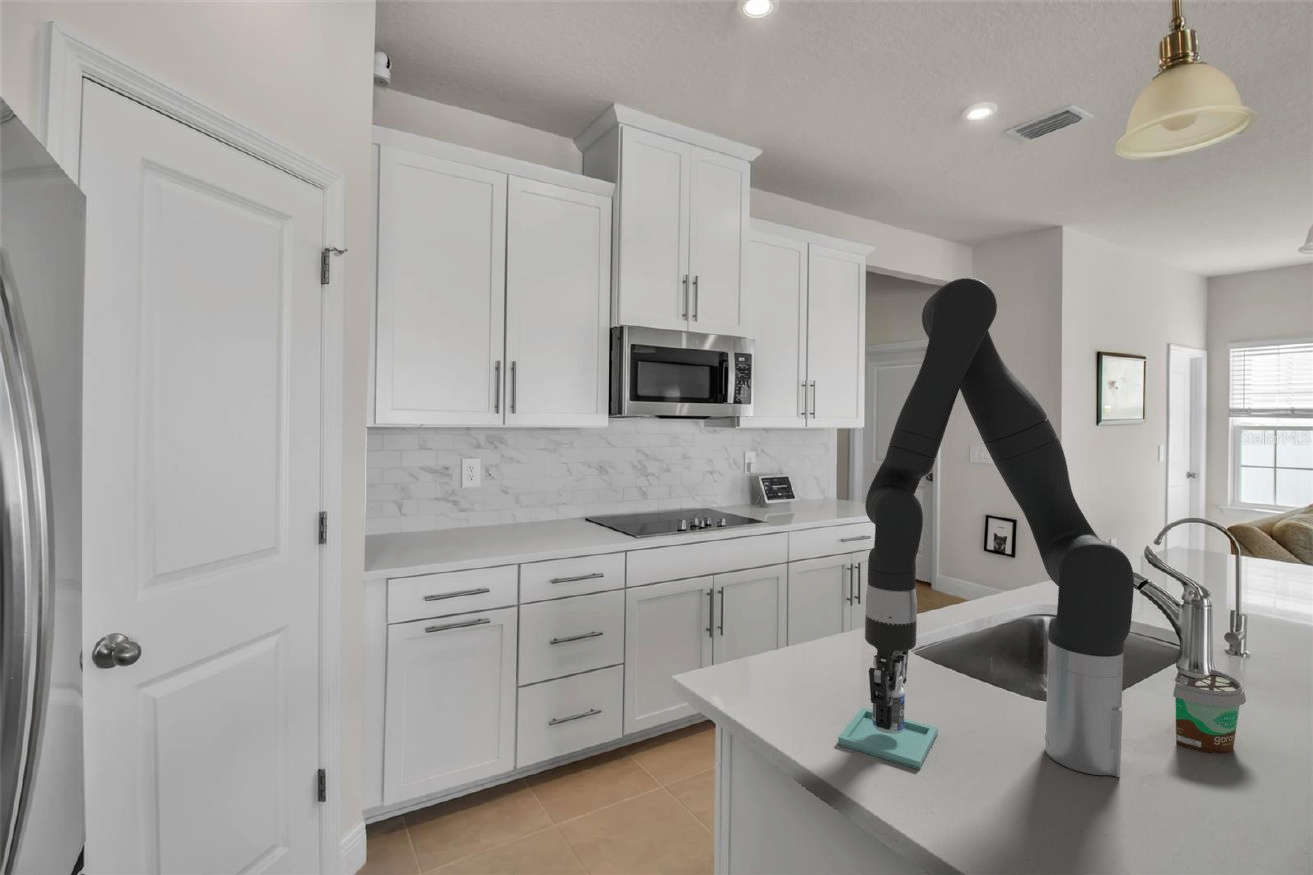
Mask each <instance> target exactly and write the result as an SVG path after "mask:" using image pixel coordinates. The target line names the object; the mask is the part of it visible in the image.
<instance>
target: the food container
mask: <svg viewBox="0 0 1313 875" xmlns="http://www.w3.org/2000/svg"><path fill="white" fill-rule="evenodd" d="M1209 671H1210V673H1209V674H1208V675H1206V676H1205V677H1201V678H1200V677H1198V678H1194V679H1193V680H1191V681H1190V682H1189V683H1187V684H1185V685H1184V684H1181V683H1177V682H1175V686H1174V688H1173V689H1174V690H1173V695H1172V696H1173V697H1174V698H1175V744H1176V746H1179V747H1182V748H1185V749H1188V750H1193V751H1195V752H1199V753H1205V754H1211V755H1227V754H1231V753H1232V752H1233V750H1234V745H1235V738H1236V731H1237V724H1238V718H1239V712H1240V706H1242V705H1244V704H1246V702H1247V698H1246V694H1245V690H1244V688H1243V687H1242V684H1241V682H1240V681H1238V679H1236V678H1235V677H1233V676H1231V675H1229V674H1227V673H1224V672H1221V671H1219V670H1215V669H1212V668H1210V670H1209Z"/></svg>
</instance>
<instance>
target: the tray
mask: <svg viewBox="0 0 1313 875" xmlns="http://www.w3.org/2000/svg"><path fill="white" fill-rule="evenodd" d="M872 714H873V709H870V708H866V707H863V706H862V707H861V708H860V710H858V711H857V713H856V714H855V716H854V717H853V719H851V721H850V722H849V723H848V724H847V725H846V727H845V728H844V730H842V732H841V733H840V734H839V736H838V737H837V744H838V745H839V746H842V747H845V748H847V749H851V750H854V751H858V752H860V753H863V754H867V755H871V756H874V757H877V758H880V759H883V760H887V761H890V762H893V763H895V764H899V765H902V766H906V767H909V768H912V769H915V770H919V771H920V770H921V769H922V766H923V765H924V762H925V761H926V758H927V757H928V755H929V753H930V751H931V750H932V749H931V748H932V747H933V745H934V743H935V741H936V739H937V737H938V731H939V729H938V727H937V726H934V725H929V724H926V723H922V722H917V721H915V720H911V719H907V718H904V730H903V731H902V732H901V733H898V734H889V733H884V732H881V731H879V730H877V729H876V728H875V727H874V726H873V724H872Z"/></svg>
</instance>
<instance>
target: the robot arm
mask: <svg viewBox="0 0 1313 875" xmlns="http://www.w3.org/2000/svg"><path fill="white" fill-rule="evenodd" d="M997 310H998V303H997V298H996V295H995V293H994V291H993V289H992V288H991V287H990V286H989V285H988V284H987V283H986V282H984V281H982V280H981V279H979V278H978V279H977V278H973V277H972V278H971V277H962V278H958V279H954V280H952V281H950V282H948V283H945V284H944V285H943V286H941V287H940V288H939V289H938V290H937V291H936V292H934V293H933V294H932V295H931V296H930V297H929V298H928V299H927V301H926V302H925V304H924V306H923V309H922V313H921V324H922V328H923V330H924V332H925V334H926V336H927V338H928V343H927V347H926V351H925V354H924V358H923V361H922V364H921V367H920V368H919V372H918V374H917V376H916V379H915V381H914V383H913V385H912V387H911V389H910V391H909V393H908V396H907V398H906V399H905V402H904V404H903V406H902V408H901V410H900V413H899V415H898V417H897V420H896V422H895V426H894V429H893V432H892V434H891V438H890V441H889V444H888V448H887V450H886V454H885V457H884V459H883V462H882V463H881V465H879V466H880V467H879V469H878V470H877V471H876V474H875V476H874V478H873V480H872V482H871V484H870V486H869V489H868V492H867V494H866V498H865V507H864V508H865V512H866V515H867V517H868V519H869V520H870V521H871V523H873V524H874V525H875V526H874V529H875V532H874V542H873V544H874V545H873V548H871V549H870V551H869V555H868V557H867V558H868V560H867V587H866V588H867V589H866V592H865V612H864V613H865V618H864V619H865V620H864V622H865V624H864V625H865V626H864V638H865V641H866V643H868V644H869V645H870V646H872V647H874V648H875V649H876V654H875V655H873V662H872V663H873V664H872V665H873V667H869V669H868V675H869V677H868V679H869V691H870V692H869V693H870V703H871V704H873V703H874V704H876V725H877V726H878V727H880V728H884V729H887V730H889V729H890V728H891V726H892V704H893V693H894V691H896V690H897V688H898V678H899V674H901V675H902V679H903V684H902V688H903V689H904V686H905V684H906V683H907V681H908V680H907V674H908V672H907V671H908V659H909V652H910V650H911V651H912V650H913V649H914V648H915V647H916V646H917V624H918V623H917V615H918V614H917V613H918V601H917V600H918V598H917V592H916V591H917V590H916V582H917V581H916V579H917V578H916V575H917V572H916V571H917V562H916V561H917V560H916V559H917V555H918V552H919V548H920V543H921V540H922V539H921V538H922V533H923V525H924V524H923V523H924V514H923V509H922V508H923V506H922V505H921V502H920V500H919V499H918V497H917V496H916V495H915V493H916V491H917V489H918V486H919V484H920V482H921V479H922V478H924V477H925V476H927V475H929V474H930V472H931V471H932V469H933V467H934V465H935V461H936V459H937V456H938V453H939V451H940V447H941V444H942V441H943V438H944V435H945V432H946V429H947V426H948V422H949V421H950V418H951V417H950V416H951V414H952V410H953V408H954V406H955V402H956V399H957V396H958V394H959V391H960V393H961V396H962V397H963V400H964V402H965V405H966V407H967V409H968V411H969V414H970V415H971V416H970V417H971V418H972V420H973V422H974V424H975V427H976V428H977V430H978V433H979V435H980V438H981V440H982V441H983V444H984V447H985V448H986V450H987V451H988V454H989V455H990V458H991V459H992V461H993V464H994V465H995V467H996V469H997V470H998V473H999V474H1000V476H1001V478H1002V479H1003V481H1004V482H1005V485H1006V487H1007V488H1008V490H1009V492H1010V493H1011V495H1012V496H1013V498H1014V500H1015V501H1016V503H1017V504H1018V507H1019V508H1020V509H1021V511H1022V513H1023V514H1024V517H1025V519H1026V521H1027V523H1028V526H1029V528H1030V530H1031V533H1032V536H1033V540H1034V541H1035V544H1036V547H1037V550H1038V552H1039V556H1040V557H1041V561H1042V563H1043V566H1044V569H1045V571H1046V573H1047V575H1048V576H1049V578H1050V579H1051V581H1052V582H1053V583H1054V584H1055V585H1056V586H1058V590H1057V591H1058V594H1057V609H1056V610H1057V611H1056V616H1055V617H1054V618H1052V619H1051V620H1050V621H1049V624H1048V634H1047V635H1048V636H1047V637H1048V640H1047V642H1048V644H1047V673H1046V674H1047V675H1046V676H1047V677H1046V706H1045V709H1046V712H1045V734H1044V735H1045V736H1044V740H1045V746H1044V747H1045V748H1044V749H1045V752H1046V754H1047V755H1048V756H1049V757H1050V758H1051V759H1052V760H1053V761H1055V762H1056V763H1059V764H1060V765H1061V766H1064V767H1066V768H1069V769H1071V770H1074V771H1076V772H1080V773H1084V774H1089V775H1095V776H1096V775H1097V776H1113V777H1116V778H1120V777H1121V762H1122V734H1123V733H1122V732H1123V729H1122V728H1123V706H1122V705H1123V704H1122V703H1123V702H1122V700H1123V678H1124V675H1123V674H1124V672H1123V671H1124V650H1125V641H1126V640H1127V637H1128V636H1129V634H1130V631H1131V626H1132V615H1133V603H1134V593H1135V592H1134V590H1135V588H1134V587H1135V586H1134V585H1135V584H1134V583H1135V581H1134V580H1135V578H1134V577H1135V576H1134V570H1133V567H1132V563H1131V562H1130V560H1129V558H1128V556H1127V555H1126V554H1125V553H1124V552H1123V551H1122V550H1120V549H1119V548H1118V547H1116V546H1115V545H1112V544H1110V543H1109V542H1106V541H1104V540H1102V539H1101V538H1100V537H1099V536H1098V534H1097V533H1096V532H1095V531H1094V529H1093V528H1092V526H1091V524H1090V523H1089V521H1088V520H1087V518H1086V517H1085V515H1084V513H1083V512H1082V510H1081V508H1080V506H1079V504H1078V503H1077V500H1076V498H1075V495H1074V493H1073V490H1072V485H1071V483H1070V476H1069V469H1068V464H1067V459H1066V455H1065V453H1064V449H1063V447H1062V444H1061V441H1060V439H1059V437H1058V435H1057V433H1056V430H1055V429H1054V428H1053V426H1052V423H1051V421H1050V419H1049V417H1048V415H1047V414H1046V413H1047V412H1046V411H1045V410H1044V409H1043V407H1042V405H1041V404H1040V403H1039V401H1038V400H1037V398H1036V397H1035V396H1034V395H1033V394H1032V392H1030V391H1029V389H1028V388H1027V386H1025V385H1024V384H1023V383H1022V382H1021V381H1020V380H1019V378H1017V376H1015V374H1014V373H1013V372H1012V371H1011V370H1010V369H1009V368H1008V366H1007V365H1006V364H1005V362H1004V360H1003V359H1002V358H1001V355H1000V354H999V352H998V350H997V347H996V346H995V343H994V341H993V338H992V336H991V334H990V331H989V329H990V328H991V325H992V324H993V322H994V320H995V318H996V316H997ZM888 681H893V683H892V684H888ZM904 690H905V689H904ZM880 693H882V694H883V695H884V696H881V695H880Z"/></svg>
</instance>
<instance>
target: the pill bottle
mask: <svg viewBox="0 0 1313 875" xmlns="http://www.w3.org/2000/svg"><path fill="white" fill-rule="evenodd" d="M892 683H893V681H888V684H892ZM902 684H903V679H902V675H901V674H899V678H898V688H897V690H896V691H894V693H893V704H892V726H891V728H890V729H889V730H887V729H884V728H880V727H878V726H877V725H876V704H874V703H872V710H873V714H872V724H873V726H874V727H875V728H876V729H877V730H879V731H881V732H884V733H889V734H898V733H901V732H902V731H903V730H904V719H905V701H906V700H905V696H906V695H905V694H906V692H905V689H903V688H902ZM903 685H904V684H903ZM880 695H881V696H884V695H883V694H882V693H880Z"/></svg>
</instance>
